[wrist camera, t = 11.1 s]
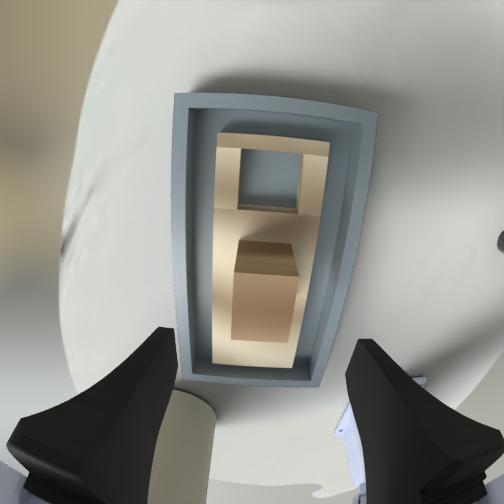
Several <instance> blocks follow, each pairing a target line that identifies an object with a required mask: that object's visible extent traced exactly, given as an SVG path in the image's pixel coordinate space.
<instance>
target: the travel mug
mask: <svg viewBox="0 0 504 504" xmlns="http://www.w3.org/2000/svg"><path fill="white" fill-rule="evenodd" d="M215 422H216V415H215V412H214V411H213V409H212V408H211V407H210V406H209V405H208V404H207V403H206V402H204V401H203V400H201V399H200V398H198V397H196V396H194V395H191V394H189V393H186V392H183V391H179V390H173V391H172V394H171V397H170V400H169V403H168V406H167V409H166V412H165V415H164V418H163V421H162V424H161V427H160V430H159V434H158V438H157V442H156V447H155V452H154V458H153V463H152V470H151V476H150V484H149V492H148V502H147V504H206V497H207V488H208V480H209V471H210V463H211V455H212V446H213V438H214V430H215Z"/></svg>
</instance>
